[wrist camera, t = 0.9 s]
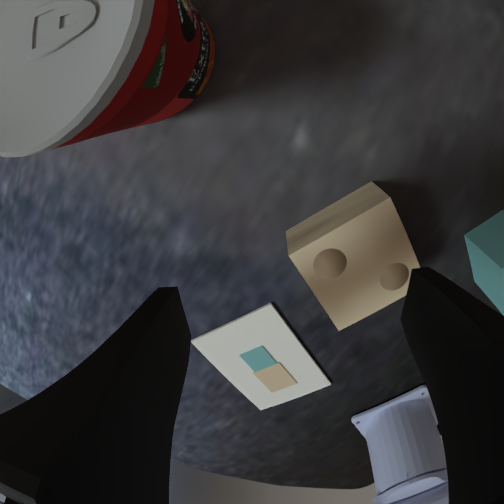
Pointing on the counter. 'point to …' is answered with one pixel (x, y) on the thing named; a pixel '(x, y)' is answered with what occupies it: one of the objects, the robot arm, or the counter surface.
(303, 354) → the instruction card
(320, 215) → the oak base brick
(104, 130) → the canned food
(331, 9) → the counter surface
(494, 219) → the teal brick
